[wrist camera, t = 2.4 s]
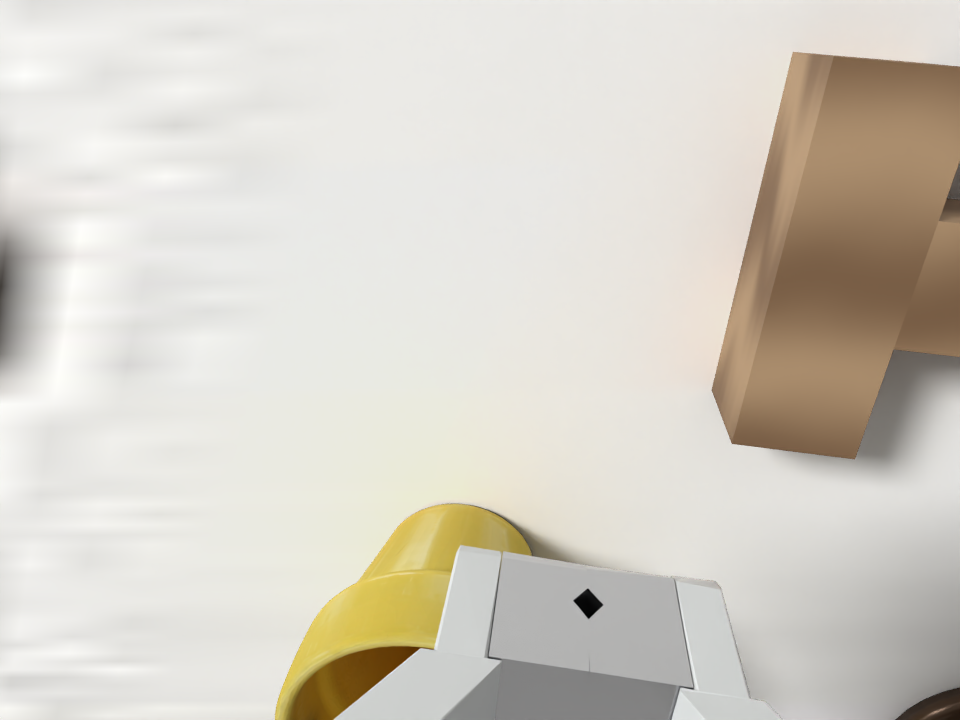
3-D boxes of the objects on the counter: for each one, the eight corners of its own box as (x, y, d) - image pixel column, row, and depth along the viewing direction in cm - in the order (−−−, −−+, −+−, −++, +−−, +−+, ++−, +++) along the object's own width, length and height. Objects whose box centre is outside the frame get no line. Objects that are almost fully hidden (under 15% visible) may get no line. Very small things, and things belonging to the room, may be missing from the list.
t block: (792, 52, 23) (833, 56, 19) (1200, 86, 22) (1324, 97, 18) (711, 389, 28) (731, 443, 24) (1039, 429, 27) (1110, 491, 23)
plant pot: (621, 526, 31) (639, 725, 22) (517, 676, 35) (497, 892, 26) (400, 425, 30) (327, 590, 21) (322, 591, 34) (234, 785, 26)
